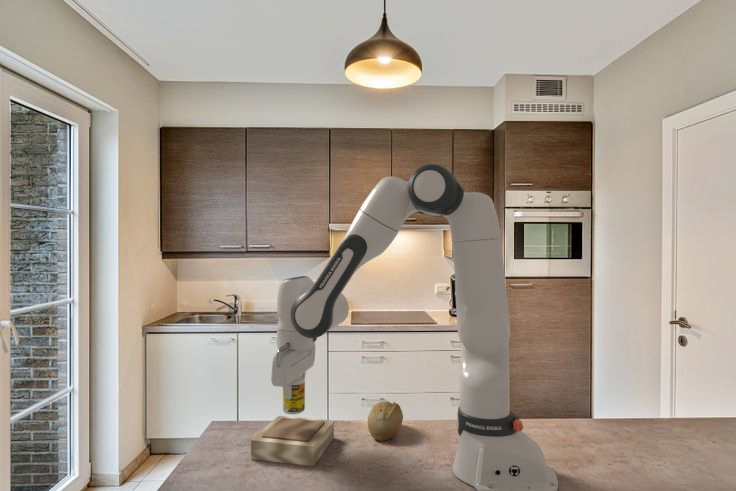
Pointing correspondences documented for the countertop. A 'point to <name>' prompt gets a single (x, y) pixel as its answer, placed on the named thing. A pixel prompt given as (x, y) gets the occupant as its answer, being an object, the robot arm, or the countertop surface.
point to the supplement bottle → (295, 397)
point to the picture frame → (293, 440)
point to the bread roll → (384, 420)
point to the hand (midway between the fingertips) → (294, 393)
